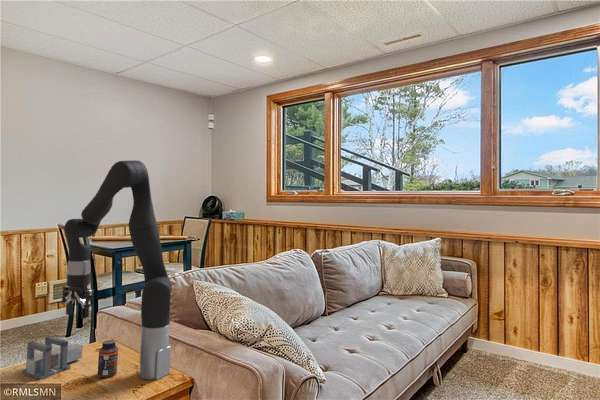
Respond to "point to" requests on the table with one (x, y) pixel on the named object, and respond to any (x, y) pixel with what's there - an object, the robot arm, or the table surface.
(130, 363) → the table surface
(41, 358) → the grey rectangular bar
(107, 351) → the supplement bottle
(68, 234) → the robot arm
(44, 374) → the collar stand
